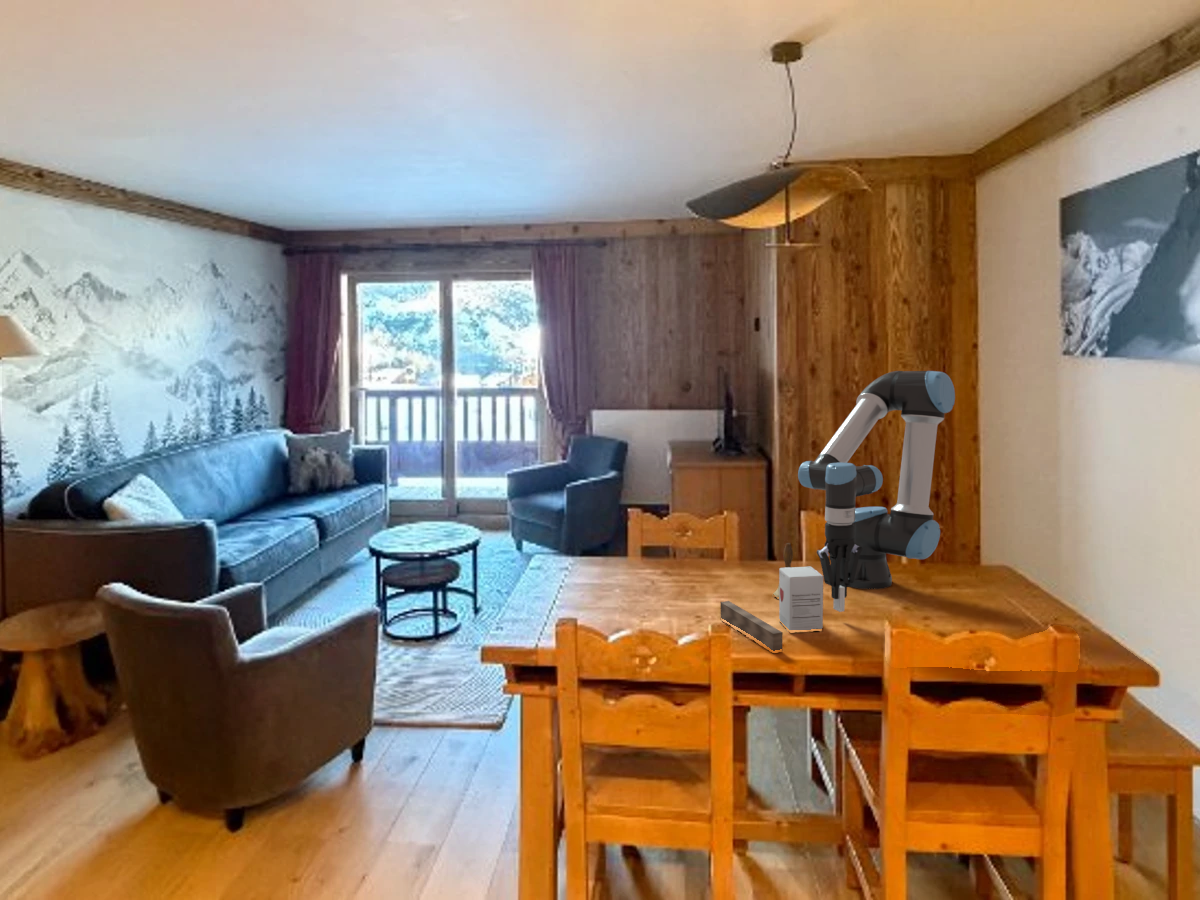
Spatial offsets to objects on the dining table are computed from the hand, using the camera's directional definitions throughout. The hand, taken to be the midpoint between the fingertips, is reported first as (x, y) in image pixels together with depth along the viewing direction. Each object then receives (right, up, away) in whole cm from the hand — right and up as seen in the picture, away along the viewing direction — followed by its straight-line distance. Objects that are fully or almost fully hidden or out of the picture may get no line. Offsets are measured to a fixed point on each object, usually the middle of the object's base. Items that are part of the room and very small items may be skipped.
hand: (838, 609), depth 211 cm
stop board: (-25, -5, -9) cm, 27 cm away
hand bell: (-9, -1, +22) cm, 23 cm away
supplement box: (-11, -4, -4) cm, 12 cm away
